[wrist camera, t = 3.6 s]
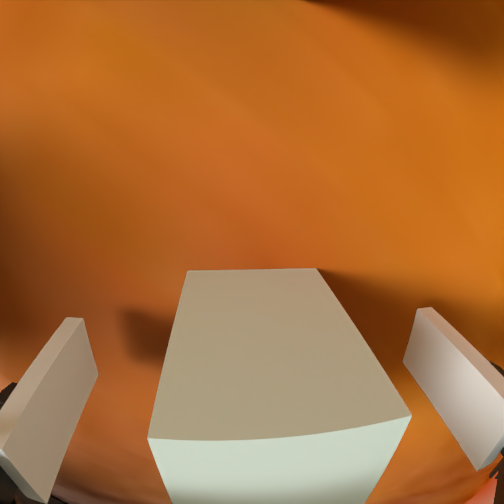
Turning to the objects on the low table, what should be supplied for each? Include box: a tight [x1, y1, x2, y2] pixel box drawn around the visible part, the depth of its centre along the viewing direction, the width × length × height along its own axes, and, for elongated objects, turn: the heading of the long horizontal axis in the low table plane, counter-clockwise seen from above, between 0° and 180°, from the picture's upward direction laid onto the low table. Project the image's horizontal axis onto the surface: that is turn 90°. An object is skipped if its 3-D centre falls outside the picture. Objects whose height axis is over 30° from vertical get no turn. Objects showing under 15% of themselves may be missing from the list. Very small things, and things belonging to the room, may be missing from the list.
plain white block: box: [147, 268, 412, 504], centre depth 10 cm, size 5×5×8 cm
